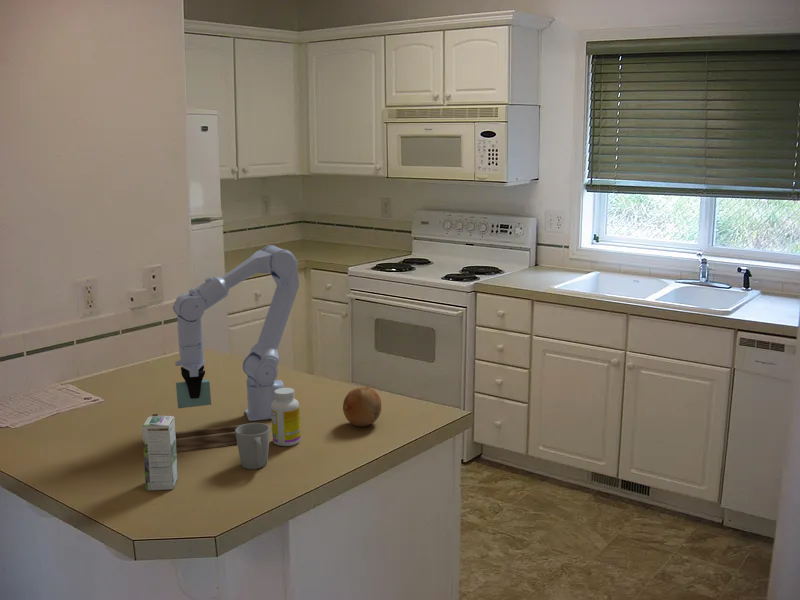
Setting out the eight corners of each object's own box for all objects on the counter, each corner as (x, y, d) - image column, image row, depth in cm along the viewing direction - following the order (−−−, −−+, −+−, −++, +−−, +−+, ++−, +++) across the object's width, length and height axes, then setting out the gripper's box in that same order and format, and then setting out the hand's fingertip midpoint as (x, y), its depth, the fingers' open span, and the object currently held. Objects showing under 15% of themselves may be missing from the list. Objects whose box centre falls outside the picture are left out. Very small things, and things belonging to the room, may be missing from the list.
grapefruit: (356, 415, 217) (355, 378, 215) (389, 421, 213) (388, 384, 210) (335, 427, 209) (334, 389, 207) (369, 434, 204) (368, 395, 202)
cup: (266, 455, 193) (265, 420, 191) (278, 472, 184) (276, 435, 182) (233, 461, 190) (231, 425, 188) (243, 478, 181) (241, 441, 179)
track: (243, 431, 207) (242, 404, 206) (247, 443, 200) (246, 415, 198) (154, 442, 201) (152, 414, 200) (155, 454, 194) (152, 426, 192)
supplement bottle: (305, 438, 203) (303, 387, 200) (293, 448, 196) (291, 396, 194) (280, 435, 205) (278, 385, 202) (267, 445, 199) (265, 393, 196)
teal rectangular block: (210, 402, 210) (208, 379, 209) (211, 404, 209) (209, 381, 207) (177, 405, 208) (175, 382, 207) (177, 408, 206) (176, 385, 205)
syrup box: (151, 479, 181) (146, 415, 178) (179, 478, 181) (174, 414, 178) (145, 491, 175) (140, 425, 172) (174, 489, 176) (169, 424, 173)
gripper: (173, 337, 211) (176, 388, 214) (175, 352, 197) (179, 407, 200) (201, 334, 213) (205, 386, 216) (205, 350, 199) (209, 404, 202)
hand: (194, 396), depth 208 cm, fingers closed on teal rectangular block, 2 cm apart
